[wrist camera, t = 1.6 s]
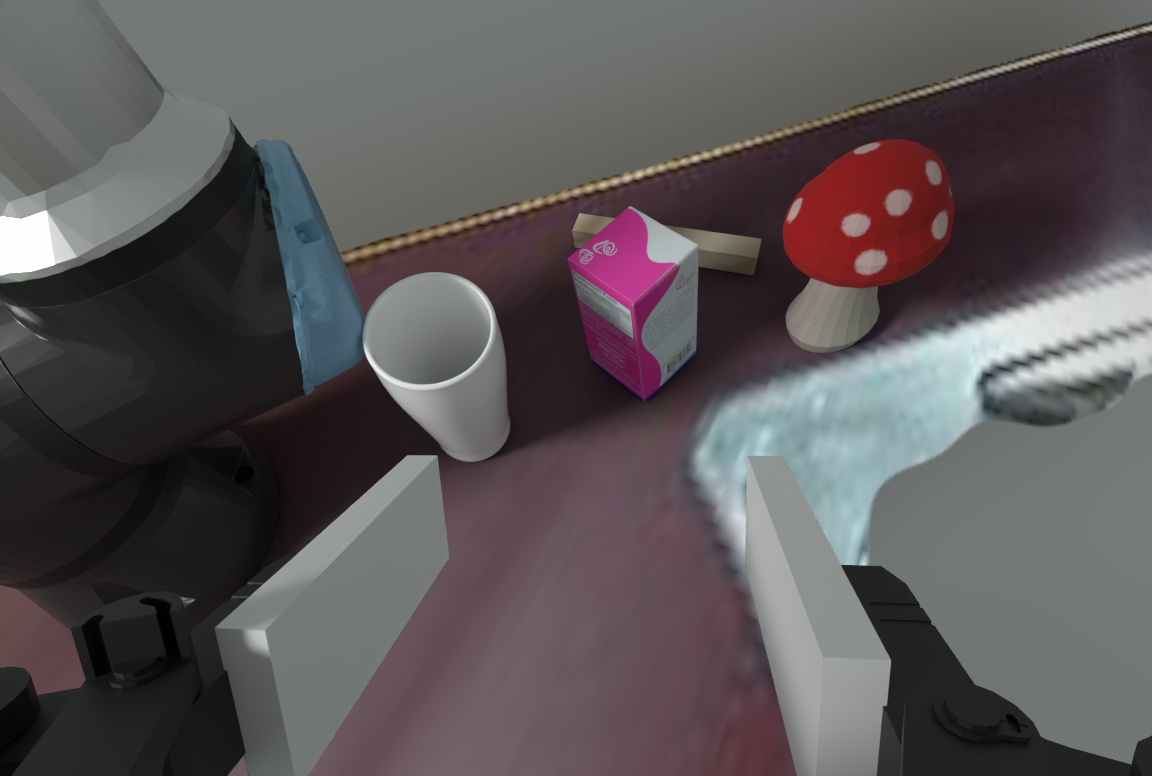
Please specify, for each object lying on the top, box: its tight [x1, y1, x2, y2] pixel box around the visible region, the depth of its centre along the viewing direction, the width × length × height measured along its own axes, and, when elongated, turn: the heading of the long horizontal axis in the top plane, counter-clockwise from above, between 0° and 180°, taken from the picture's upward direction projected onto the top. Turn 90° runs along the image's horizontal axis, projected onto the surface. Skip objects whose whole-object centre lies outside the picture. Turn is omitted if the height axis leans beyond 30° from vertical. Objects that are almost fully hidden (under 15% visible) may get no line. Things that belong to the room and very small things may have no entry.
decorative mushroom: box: [783, 139, 955, 353], centre depth 38 cm, size 10×9×15 cm
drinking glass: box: [362, 272, 510, 462], centre depth 37 cm, size 7×7×15 cm
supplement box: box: [568, 206, 699, 402], centre depth 40 cm, size 6×6×12 cm
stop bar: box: [572, 213, 761, 275], centre depth 49 cm, size 15×2×2 cm, turn 71°
